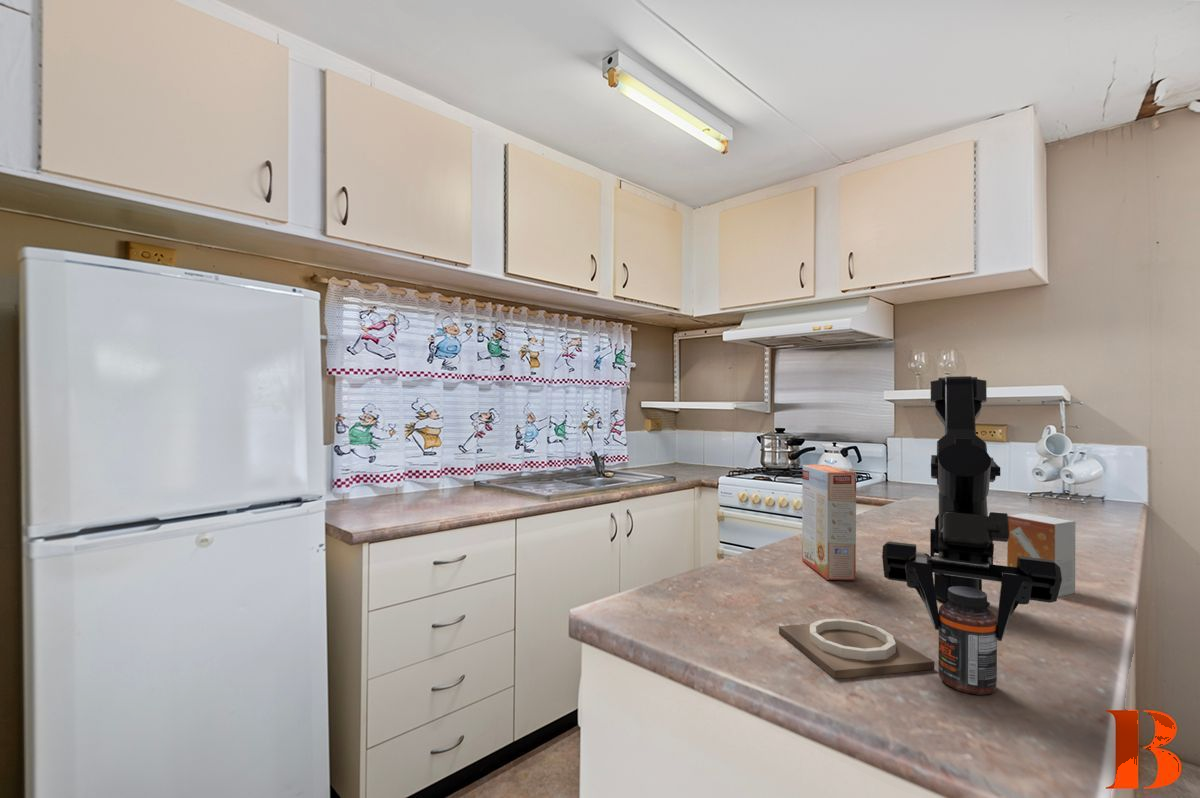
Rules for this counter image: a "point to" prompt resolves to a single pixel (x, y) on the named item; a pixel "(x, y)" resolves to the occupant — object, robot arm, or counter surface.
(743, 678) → the counter surface
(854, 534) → the cracker box
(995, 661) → the supplement bottle
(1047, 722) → the counter surface
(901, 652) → the board
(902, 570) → the robot arm
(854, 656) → the collar
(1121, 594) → the counter surface
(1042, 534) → the small box
